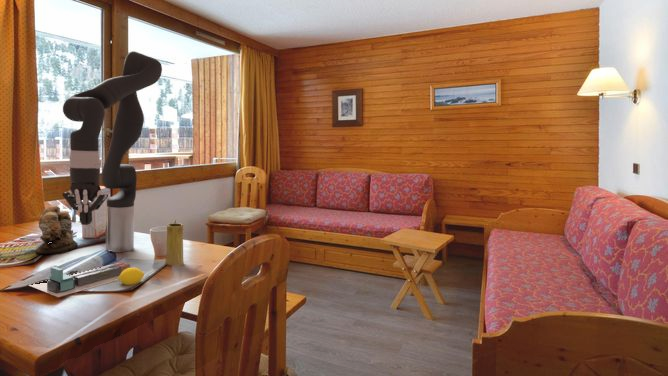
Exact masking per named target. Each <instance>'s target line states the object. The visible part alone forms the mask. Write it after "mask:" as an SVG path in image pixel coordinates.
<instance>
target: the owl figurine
mask: <svg viewBox="0 0 668 376" xmlns="http://www.w3.org/2000/svg"><path fill="white" fill-rule="evenodd" d="M72 224H73V222H72V217H71V215H70V213H69V211H67V210H62V211H61V208H60V207H59V206H58V205H55V204H54V205H53V204H52V205H49V206H46V207H45V208H44V210H43V211H42V214H41V215H40V216H39V218H38V228H39V229H40V231H41V236H40V237H39V238H40V239H41V240H42V242H43V243H41V244H40V245H39V246H38V247H36V248H35V252H37V253H36V254H37V255H61V254H65V253H68V252H71V251H74V250H75V249H77V248H78V246H79V245H78V243H77V242H76V241H75V240H74V238H73V234H74V230H73V229H72V227H73V225H72ZM49 242H52V243H49ZM48 243H49V244H48Z"/></svg>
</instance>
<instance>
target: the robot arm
mask: <svg viewBox="0 0 668 376" xmlns="http://www.w3.org/2000/svg"><path fill="white" fill-rule="evenodd" d="M162 73H163V67H162V63H161V62H160V61H159V60H158V59H156V58H154V57H152V56H148V55H145V54H144V53H140V52H137V51H130V52H128V53H127V55H126V57H125V59H124V62H123V67H122V75H120V76H116V77H111V78H107V79H105V80H104V81H101V82H100V83H99V84H96V86H94V87H92V88H90V89H86V90H84V91H81V92H78V93H76V94H73V95H71V96H70V97H67V99H66V100H65V101H64V103H63V106H62V112H63V115H64V116H65V118H66V119H68V120H70V121H72V122H79V123H81V122H82V124H81V127H80V128H79V129H75V130H73V131H72V132H71V133H70V139H69V140H70V145H69V146H70V152H69V153H70V154H69V181H70V183H71V184H70V186H69V190H68V191H65V192H63V193H62V195H61V196H62V197H63V198H64V199H65V201H66V202H67V203H68V204H69V206H70V207H71V209H72V210H74V211H78V213H79V223H80V224H81V226H82V225H88V224H90V223H91V222H92V211H94V210H98V209H99V208H100V206H101V205H102V204H103V203H104V201H105V200H106V199H107V197H108V194H104V193H103V192H102V191H101V188H100V186H101V185H100V182H101V184H102V186H104V187H106V188H108V189H110V190H112V189H113V190H115V189H118V190H119V191H118V192H116V194H114V195H112V196H110V198H108V199H107V225H106V234H105V249H106V250H107V249H108V250H112V251H114V252H113V253H125V252H129V251H132V250H134V245H135V244H134V243H135V242H134V241H135V239H134V238H135V236H134V235H135V200H136V194H137V181H138V179H137V171H136V170H137V169H136V168H135V167H134V165H133V164H129V163H127V164H126V163H122V160H123V158H124V157H125V155H126V154H127V152H128V151H129V150H130V149H131V148H132V147H133V146H134V145H135V144H136V143H137V142H138V140H139V139H140V137H141V135H142V131H143V126H144V123H145V116H144V112H143V109H142V106H141V104H140V100H139V97H138V93H137V92H139V91H140V90H143V89H145V88H148V87H151V86H152V85H155V84H156V83H157V82H159V80H160V79H161V75H162ZM117 103H118V105H117V110H116V114H115V118H114V123H113V126H112V127H113V128H112V134H111V137H110V138H111V139H110V143H109V148H108V151H107V154H106V157H105V160H104V164H103V167H102V171H101V158H100V152H99V150H100V149H99V145H100V143H99V141H100V140H99V138H100V134H101V130H102V127H103V124H104V120H105V116H106V110H107V109H110V108H112V107H113V106H114V105H116V104H117ZM96 196H97V197H96ZM95 198H97V199H96V201H95ZM82 200H83V201H82Z"/></svg>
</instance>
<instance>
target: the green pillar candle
mask: <svg viewBox="0 0 668 376" xmlns="http://www.w3.org/2000/svg"><path fill="white" fill-rule="evenodd" d="M165 265H168V266H183V265H184V225H183V223H178V222H177V223H176V222H175V223H167V224H166V253H165Z"/></svg>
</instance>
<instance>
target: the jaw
mask: <svg viewBox="0 0 668 376" xmlns="http://www.w3.org/2000/svg"><path fill="white" fill-rule="evenodd" d="M122 264H126V263H125V262H123V261H120V262H115V263H113V265H111V264H108V265H109V266H107V265H104V266H105V267H103V266H100V267H101V268H99V267H96V268H97V269H95V268H92V269H93V270H91V269H89V271H87V270H84V271H85V272H83V271H80V272H81V273H79V272H76V273H77V274H75V273H72V274H73V275H71V274H69V275H70V276H72V277H73V279H75V277H77V276H80V275H84V274H88V273H92V272H96V271H100V270H104V269H108V268H112V267H116V266H118V265H122Z"/></svg>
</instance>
